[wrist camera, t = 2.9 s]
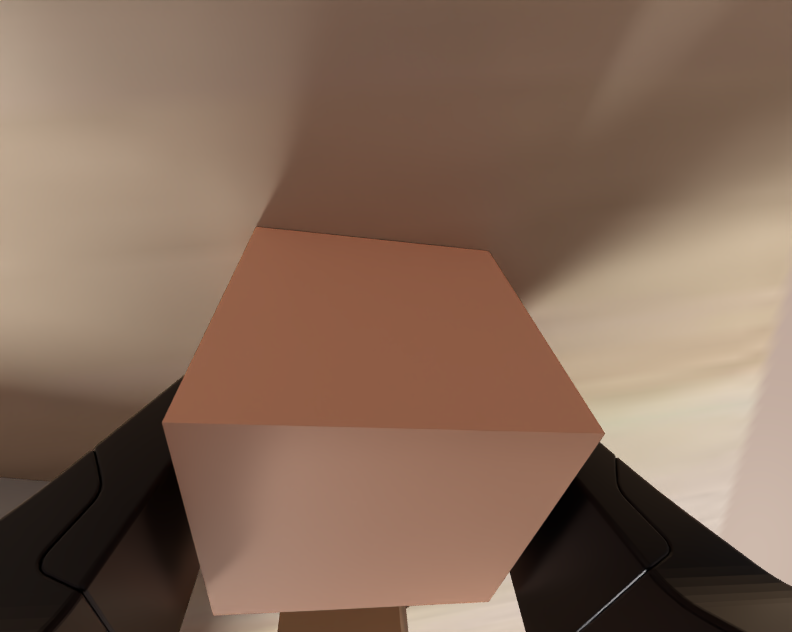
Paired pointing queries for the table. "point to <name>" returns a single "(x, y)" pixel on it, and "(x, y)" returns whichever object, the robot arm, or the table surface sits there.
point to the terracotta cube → (369, 427)
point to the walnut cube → (345, 620)
